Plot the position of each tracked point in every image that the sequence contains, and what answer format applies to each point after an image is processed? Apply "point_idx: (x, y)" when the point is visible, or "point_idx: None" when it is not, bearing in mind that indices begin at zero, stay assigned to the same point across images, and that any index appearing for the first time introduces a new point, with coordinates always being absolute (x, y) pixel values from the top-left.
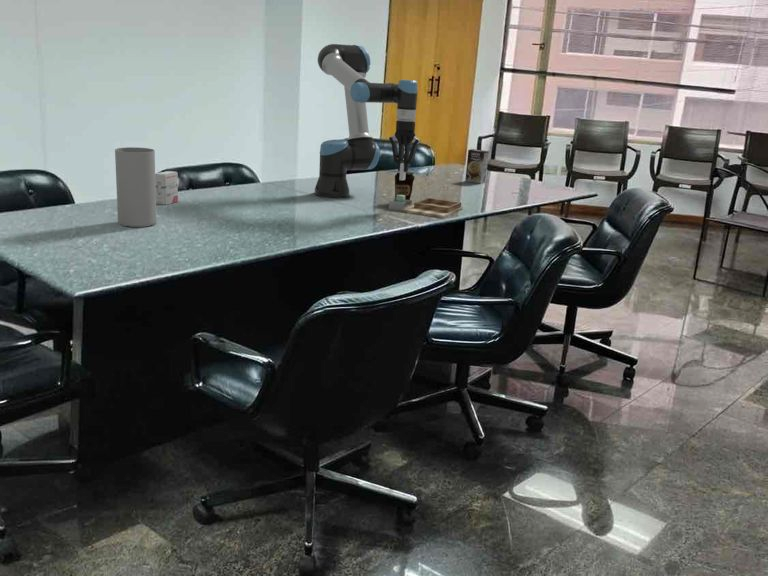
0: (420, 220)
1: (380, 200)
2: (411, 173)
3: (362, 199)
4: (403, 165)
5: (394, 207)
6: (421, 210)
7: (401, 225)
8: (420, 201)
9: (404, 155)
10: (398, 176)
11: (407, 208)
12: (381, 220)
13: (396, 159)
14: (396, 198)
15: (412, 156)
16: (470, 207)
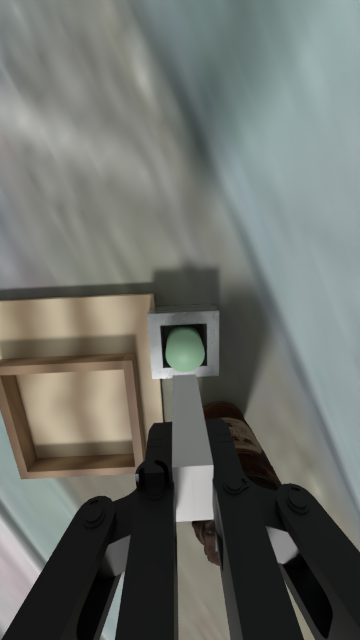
0: (20, 196)
1: (295, 411)
2: (215, 552)
3: (353, 385)
4: (173, 456)
5: (190, 306)
6: (90, 328)
7: (11, 20)
8: (128, 399)
9: (167, 618)
10: (260, 485)
11: (145, 324)
12: (131, 60)
13: (283, 511)
14: (197, 336)
15: (12, 629)
16: (34, 499)
